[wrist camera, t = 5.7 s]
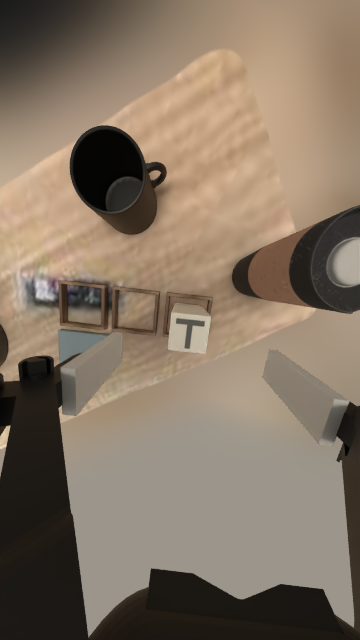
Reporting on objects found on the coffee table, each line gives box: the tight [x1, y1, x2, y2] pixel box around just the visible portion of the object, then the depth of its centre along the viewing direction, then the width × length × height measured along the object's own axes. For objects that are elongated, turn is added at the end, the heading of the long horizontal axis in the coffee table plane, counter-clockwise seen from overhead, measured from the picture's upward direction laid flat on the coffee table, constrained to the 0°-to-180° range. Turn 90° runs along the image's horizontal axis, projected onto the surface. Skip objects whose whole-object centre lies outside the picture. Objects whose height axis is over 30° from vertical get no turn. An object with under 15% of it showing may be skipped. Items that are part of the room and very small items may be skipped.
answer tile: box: [58, 329, 110, 363], centre depth 35 cm, size 10×9×1 cm
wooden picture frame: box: [58, 280, 108, 330], centre depth 32 cm, size 8×8×2 cm
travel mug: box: [232, 205, 360, 314], centre depth 21 cm, size 8×8×20 cm
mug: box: [70, 125, 167, 234], centre depth 25 cm, size 9×12×9 cm
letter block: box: [168, 302, 211, 354], centre depth 27 cm, size 5×5×12 cm
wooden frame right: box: [163, 292, 213, 337], centre depth 32 cm, size 8×8×2 cm
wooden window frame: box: [112, 287, 160, 336], centre depth 32 cm, size 8×8×2 cm
